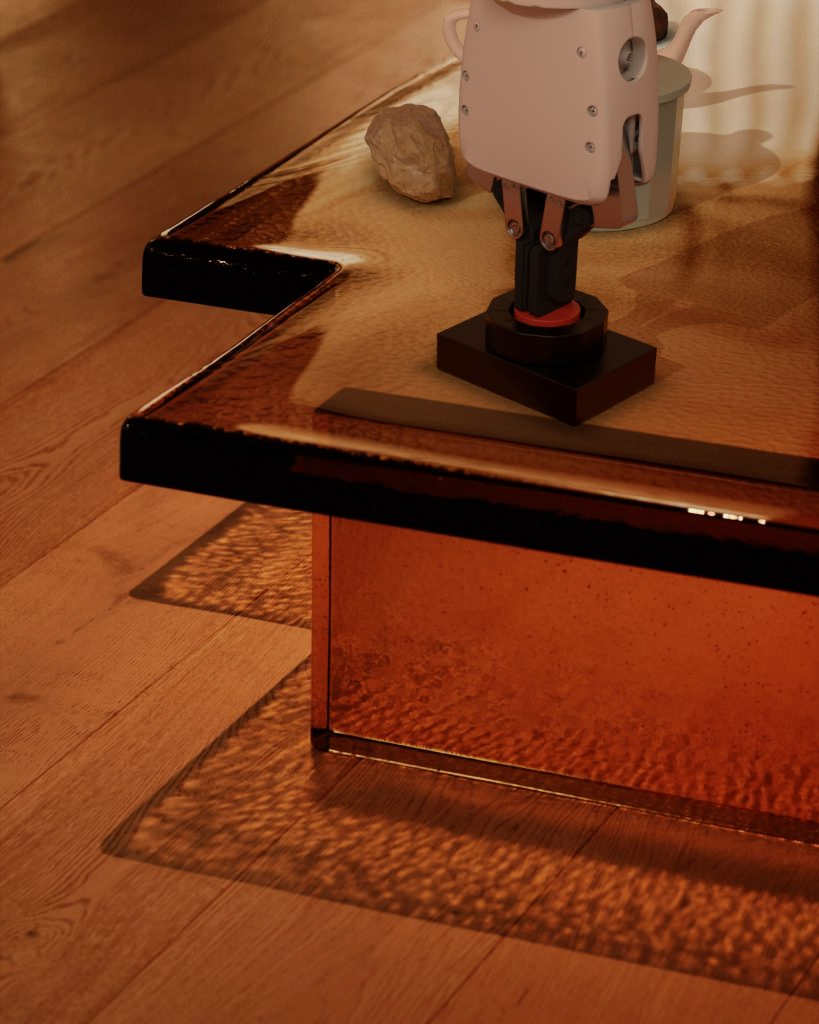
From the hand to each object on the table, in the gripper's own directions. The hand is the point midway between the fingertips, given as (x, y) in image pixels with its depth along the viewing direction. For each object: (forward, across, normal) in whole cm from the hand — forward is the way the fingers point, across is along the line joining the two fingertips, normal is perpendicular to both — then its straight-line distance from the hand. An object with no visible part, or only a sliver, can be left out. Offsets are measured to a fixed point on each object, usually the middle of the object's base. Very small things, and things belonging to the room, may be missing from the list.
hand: (543, 305), depth 87 cm
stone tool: (+5, +27, -17) cm, 32 cm away
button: (+2, 0, 0) cm, 2 cm away
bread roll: (+5, +41, -58) cm, 71 cm away
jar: (+4, +15, -23) cm, 28 cm away
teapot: (+4, +29, -38) cm, 48 cm away
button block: (+4, 0, 0) cm, 4 cm away
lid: (-4, +15, -23) cm, 28 cm away
